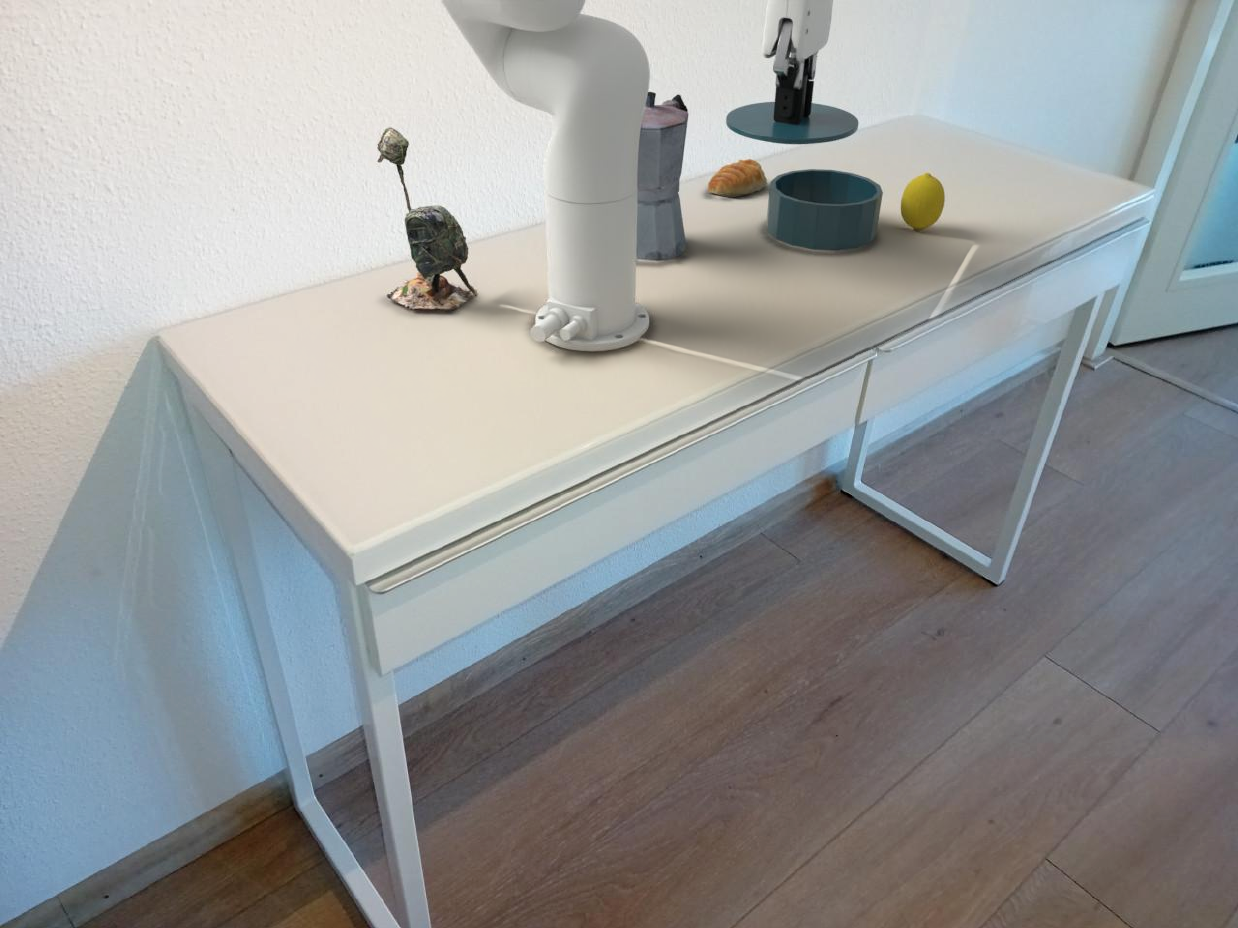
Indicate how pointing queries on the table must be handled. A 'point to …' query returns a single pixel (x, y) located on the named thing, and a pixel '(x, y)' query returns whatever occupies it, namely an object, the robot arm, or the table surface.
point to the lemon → (922, 202)
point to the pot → (823, 209)
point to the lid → (811, 129)
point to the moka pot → (660, 179)
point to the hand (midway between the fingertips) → (792, 117)
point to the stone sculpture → (428, 244)
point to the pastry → (738, 179)
